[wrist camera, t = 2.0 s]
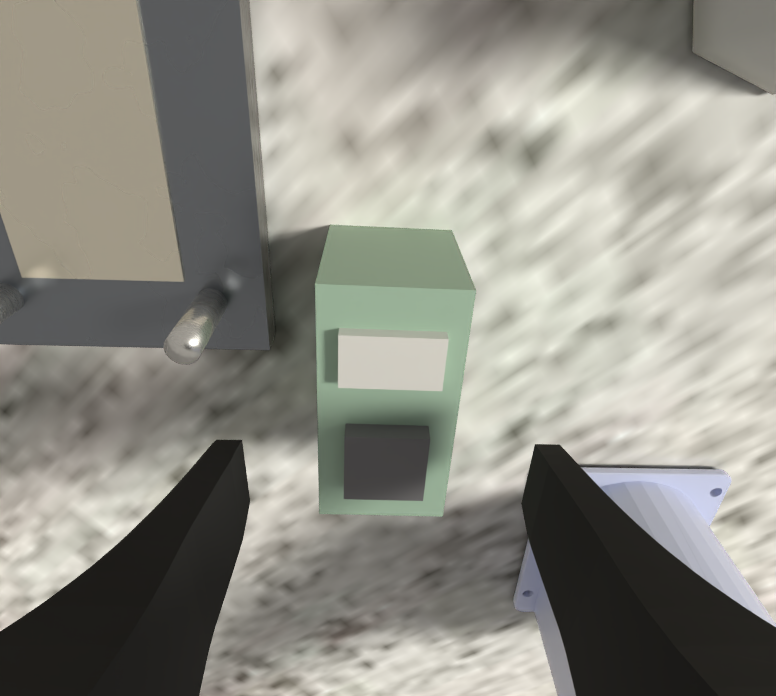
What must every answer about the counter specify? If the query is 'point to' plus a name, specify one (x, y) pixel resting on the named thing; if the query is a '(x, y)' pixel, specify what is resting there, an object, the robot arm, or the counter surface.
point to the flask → (738, 38)
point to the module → (389, 367)
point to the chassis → (132, 177)
